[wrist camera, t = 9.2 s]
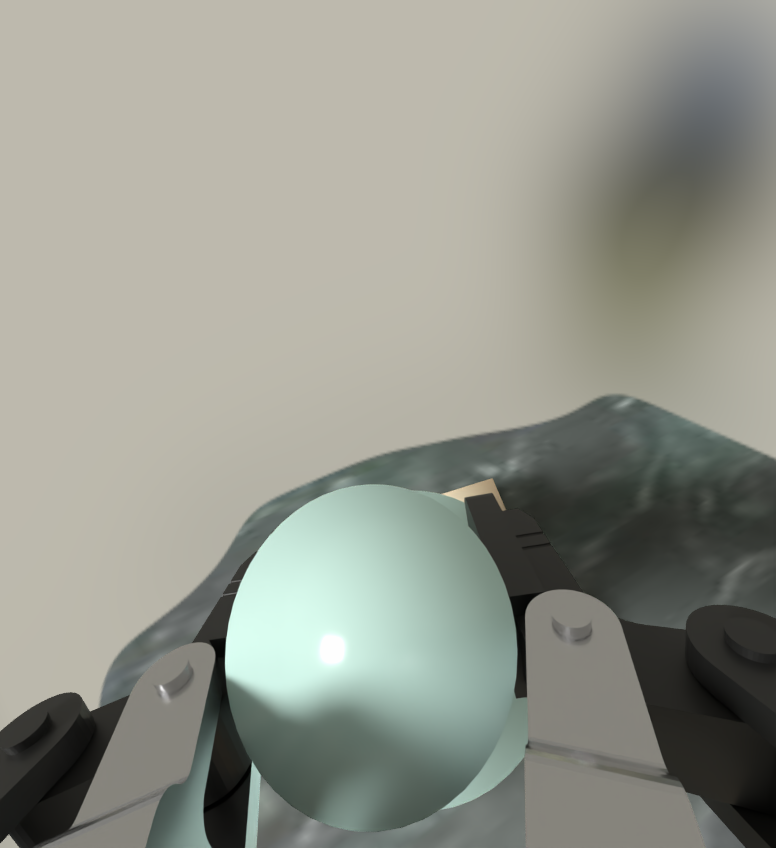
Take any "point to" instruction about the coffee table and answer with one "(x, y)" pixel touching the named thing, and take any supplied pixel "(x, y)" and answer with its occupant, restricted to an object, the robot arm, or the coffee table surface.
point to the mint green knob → (376, 660)
